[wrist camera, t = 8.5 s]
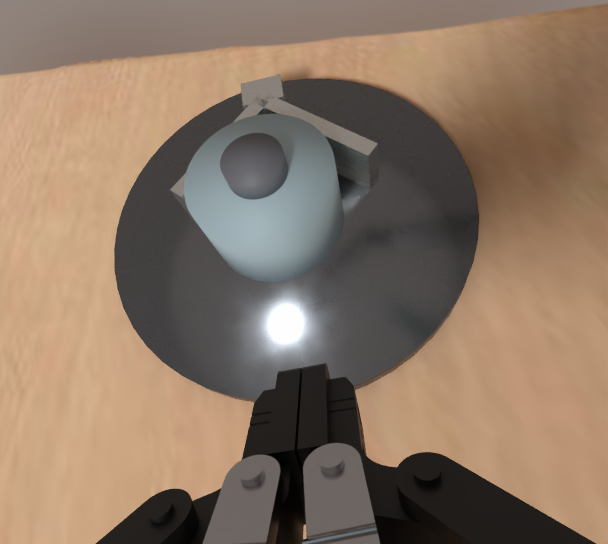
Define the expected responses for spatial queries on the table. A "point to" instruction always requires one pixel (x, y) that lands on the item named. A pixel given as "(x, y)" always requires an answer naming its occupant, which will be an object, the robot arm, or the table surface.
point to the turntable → (324, 278)
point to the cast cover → (267, 196)
